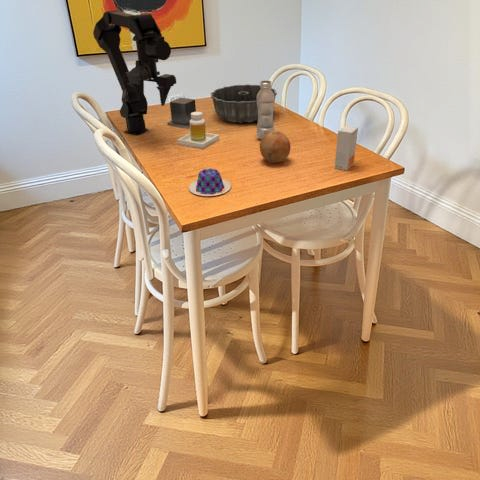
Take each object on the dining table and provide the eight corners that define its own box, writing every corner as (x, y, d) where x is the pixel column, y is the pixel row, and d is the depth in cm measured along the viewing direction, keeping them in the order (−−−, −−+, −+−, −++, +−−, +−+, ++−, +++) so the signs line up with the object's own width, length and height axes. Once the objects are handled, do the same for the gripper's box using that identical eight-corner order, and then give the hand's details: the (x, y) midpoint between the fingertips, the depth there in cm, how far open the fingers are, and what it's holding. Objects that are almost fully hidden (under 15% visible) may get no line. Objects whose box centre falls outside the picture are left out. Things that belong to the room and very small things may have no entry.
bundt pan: (218, 130, 174) (217, 103, 168) (206, 111, 195) (205, 87, 190) (284, 123, 179) (285, 97, 173) (265, 105, 200) (265, 82, 195)
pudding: (183, 185, 133) (181, 168, 131) (221, 177, 137) (220, 160, 135) (197, 201, 124) (196, 184, 121) (237, 193, 128) (237, 175, 125)
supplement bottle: (207, 141, 161) (206, 114, 156) (192, 143, 160) (190, 116, 154) (204, 137, 165) (202, 110, 160) (189, 138, 164) (187, 111, 159)
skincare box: (347, 171, 138) (351, 132, 132) (334, 168, 140) (337, 130, 134) (354, 164, 143) (358, 126, 136) (341, 161, 145) (345, 124, 138)
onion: (291, 156, 149) (292, 126, 144) (288, 168, 141) (289, 137, 136) (262, 154, 151) (262, 125, 146) (257, 166, 143) (257, 135, 138)
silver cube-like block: (167, 125, 180) (164, 102, 175) (180, 118, 186) (178, 96, 182) (188, 128, 176) (186, 105, 171) (201, 122, 182) (199, 99, 177)
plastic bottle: (262, 143, 160) (262, 85, 149) (252, 138, 165) (252, 81, 154) (277, 140, 162) (279, 82, 152) (268, 135, 168) (269, 78, 157)
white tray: (178, 144, 161) (177, 139, 160) (195, 135, 169) (194, 130, 168) (203, 149, 157) (202, 144, 156) (219, 139, 164) (219, 134, 163)
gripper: (108, 58, 148) (116, 106, 157) (153, 63, 140) (159, 113, 149) (131, 52, 157) (137, 98, 165) (175, 56, 149) (179, 105, 157)
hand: (152, 104), depth 159 cm, fingers open, 9 cm apart
